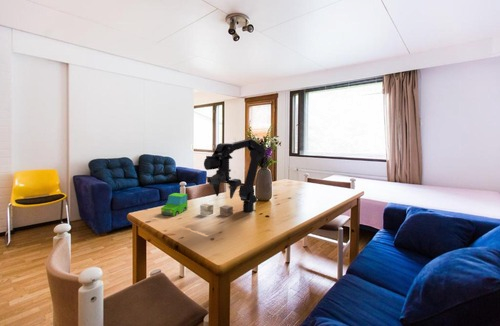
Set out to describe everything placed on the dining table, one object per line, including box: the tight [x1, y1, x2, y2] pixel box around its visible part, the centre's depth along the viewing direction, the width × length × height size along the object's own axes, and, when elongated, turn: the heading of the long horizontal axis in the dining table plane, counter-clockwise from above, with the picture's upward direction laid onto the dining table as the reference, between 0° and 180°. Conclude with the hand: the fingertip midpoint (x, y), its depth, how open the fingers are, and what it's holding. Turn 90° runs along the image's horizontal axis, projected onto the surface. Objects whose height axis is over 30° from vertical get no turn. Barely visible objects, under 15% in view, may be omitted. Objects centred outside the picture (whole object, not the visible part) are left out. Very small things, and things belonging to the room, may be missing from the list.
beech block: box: [199, 202, 214, 217], centre depth 130 cm, size 5×5×5 cm
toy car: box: [160, 192, 188, 217], centre depth 131 cm, size 10×13×10 cm
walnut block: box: [219, 204, 234, 217], centre depth 130 cm, size 5×5×5 cm
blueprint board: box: [198, 212, 217, 218], centre depth 131 cm, size 14×10×1 cm
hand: (224, 197), depth 124 cm, fingers open, 9 cm apart
